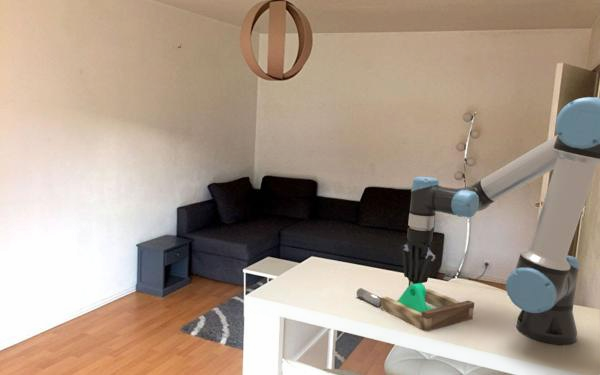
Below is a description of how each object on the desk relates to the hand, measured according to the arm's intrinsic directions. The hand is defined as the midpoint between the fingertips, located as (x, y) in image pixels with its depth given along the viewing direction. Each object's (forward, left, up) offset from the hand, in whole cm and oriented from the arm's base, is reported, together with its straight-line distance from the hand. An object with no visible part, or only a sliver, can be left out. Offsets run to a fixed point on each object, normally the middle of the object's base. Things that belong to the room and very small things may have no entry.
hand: (412, 301), depth 149 cm
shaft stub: (+9, +11, -1) cm, 14 cm away
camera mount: (-7, +4, -2) cm, 8 cm away
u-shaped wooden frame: (-6, 0, -2) cm, 6 cm away
